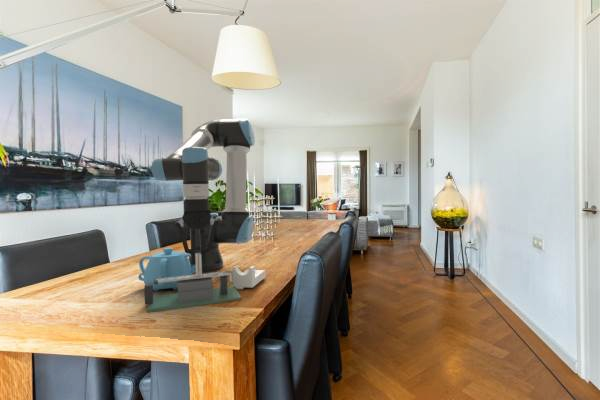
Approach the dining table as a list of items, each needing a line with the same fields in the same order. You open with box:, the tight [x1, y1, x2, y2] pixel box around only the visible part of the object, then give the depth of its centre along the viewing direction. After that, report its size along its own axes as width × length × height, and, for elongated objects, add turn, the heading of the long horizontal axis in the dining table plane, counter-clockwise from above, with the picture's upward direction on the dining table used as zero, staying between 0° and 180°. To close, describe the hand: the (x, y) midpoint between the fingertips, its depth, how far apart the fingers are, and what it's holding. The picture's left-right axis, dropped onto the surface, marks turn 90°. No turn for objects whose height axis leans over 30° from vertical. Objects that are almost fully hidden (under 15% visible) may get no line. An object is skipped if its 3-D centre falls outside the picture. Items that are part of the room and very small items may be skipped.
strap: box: [153, 270, 233, 284], centre depth 100 cm, size 3×23×3 cm, turn 111°
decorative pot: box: [138, 247, 196, 292], centre depth 114 cm, size 16×16×14 cm
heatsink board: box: [144, 275, 242, 313], centre depth 100 cm, size 12×27×6 cm, turn 111°
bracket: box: [232, 264, 266, 290], centre depth 116 cm, size 13×7×8 cm, turn 167°
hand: (198, 274), depth 100 cm, fingers closed
